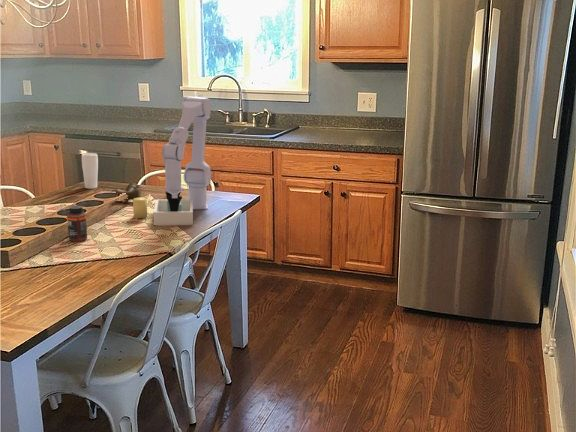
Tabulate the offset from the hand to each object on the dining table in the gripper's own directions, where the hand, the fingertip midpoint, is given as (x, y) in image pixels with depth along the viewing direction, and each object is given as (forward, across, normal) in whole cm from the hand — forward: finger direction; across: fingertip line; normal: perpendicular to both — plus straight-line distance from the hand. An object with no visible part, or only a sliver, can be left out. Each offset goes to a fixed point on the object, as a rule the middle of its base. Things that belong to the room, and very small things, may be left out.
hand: (173, 212), depth 231 cm
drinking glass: (+4, +55, +32) cm, 63 cm away
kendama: (+4, +33, +16) cm, 37 cm away
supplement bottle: (+4, -18, +33) cm, 37 cm away
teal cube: (+2, 0, 0) cm, 2 cm away
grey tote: (+3, +4, 0) cm, 5 cm away
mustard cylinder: (+3, +7, +12) cm, 14 cm away
